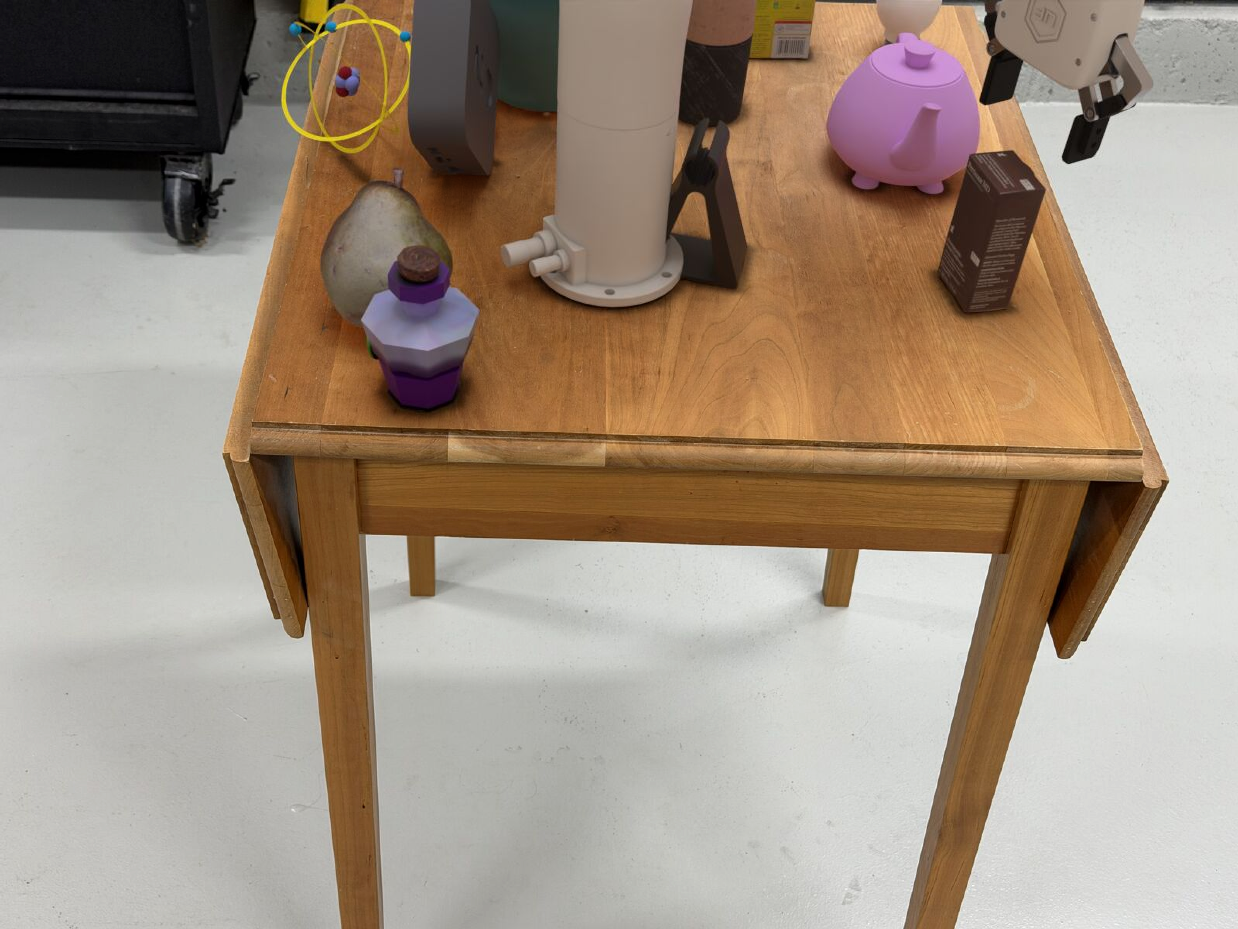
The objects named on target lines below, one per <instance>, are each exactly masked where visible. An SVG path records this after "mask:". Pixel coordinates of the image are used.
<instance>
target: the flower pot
mask: <svg viewBox="0 0 1238 929" xmlns="http://www.w3.org/2000/svg"><path fill="white" fill-rule="evenodd" d="M488 1H489V3H490V5H491V8H492V10H493V12H494V14H495V17H496V19H497V23H498V29H499V41H500V59H499V76H498V94H497V100H499V101H501V102H503V103H505V104H507V105H509V106H512V107H514V108H518V109H522V110H526V111H532V112H538V113H539V112H540V113H557V106H558V100H557V84H558V47H559V10H560V7H559V0H488Z"/></svg>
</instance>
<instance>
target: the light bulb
mask: <svg viewBox="0 0 1238 929" xmlns="http://www.w3.org/2000/svg"><path fill="white" fill-rule="evenodd" d="M875 2H876V11H877V16H878V19H879V21H880V23H881V25H882V26H883V28H884V32H883V37H884V42H883V46H885V45H889V44H894V43H896V40H897V37H898V35H899V34H901V33H912V34H914V35H916V36H917V38H918V40H921V34H922V33H924V32H925V31H926V30H927V29H929V27H930V26H931V25H932V24H933V23H934V21H935V20H936V18H937V17H938V14H939V12H940V9H941V7H942V3H943V0H875Z"/></svg>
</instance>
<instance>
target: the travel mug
mask: <svg viewBox="0 0 1238 929" xmlns="http://www.w3.org/2000/svg"><path fill="white" fill-rule="evenodd" d="M756 4H757V0H693V3H692V9H691V15H690V21H689V26H688V32H687V37H686V44H685V51H684V59H683V69H682V79H681V89H680V100H679V114H678V120H681V121H683V122H685V123H687V124H692V125H695V126H696V125H697V124H698V123H699V122H700V121H701V120H703V119H706V118H709V124H708V127H717V125H718V122H719V120H721V121H722V122H724V123H725V124H726V125H727V124H730V123H732V122H734V121H736V120H737V119H738V117H739V116H740V114H741V111H742V106H743V100H744V94H745V87H746V81H747V75H748V68H749V62H750V58H749V56H750V50H751V44H752V37H753V31H754V22H755V13H756Z"/></svg>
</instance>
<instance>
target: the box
mask: <svg viewBox="0 0 1238 929" xmlns="http://www.w3.org/2000/svg"><path fill="white" fill-rule="evenodd" d="M1046 192H1047V189H1046V187H1045V186H1044V185H1043V184H1042V182H1041V181H1040V180H1039V179H1038V178H1037V177H1036V175H1035V171H1034V170H1033V169H1032V168H1031V167H1030V165H1028V164H1027V163H1025V162H1024V161H1023V160H1022V159H1021V158H1020V157H1019V155H1018V154H1017V153H1016V152H1015V150H1013V149H1009V150H998V151H996V150H995V151H986V152H976V153H974V154H970V155H969V159H968V163H967V165H966V166H965V170H964V174H963V178H962V181H961V186H960V188H959V192H958V195H957V199H956V203H955V206H954V210H953V214H952V216H951V220H950V223H949V228H948V232H947V234H946V239H945V242H944V245H943V249H942V253H941V256H940V261H939V263H938V268H937V271H936V274H938V276H939V277H940V278H941V280H942V282H944V284H945V285H946V286H947V288H948V290H949V291H950V292H951V293H952V295H953V296H954V298H955V300H956V301H957V303H958V304H959V306H960V307H961V309H962V310H963V312H964V313H978V312H990V311H992V312H993V311H997V310H999V311H1000V310H1004V309H1008V308H1009V305H1010V303H1011V299H1012V296H1013V294H1014V291H1015V287H1016V284H1017V281H1018V278H1019V276H1020V272H1021V269H1022V265H1023V262H1024V260H1025V256H1026V254H1027V250H1028V247H1029V244H1030V242H1031V239H1032V235H1033V232H1034V228H1035V225H1036V222H1037V219H1038V216H1039V213H1040V210H1041V206H1042V203H1043V200H1044V197H1045V194H1046Z"/></svg>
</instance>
